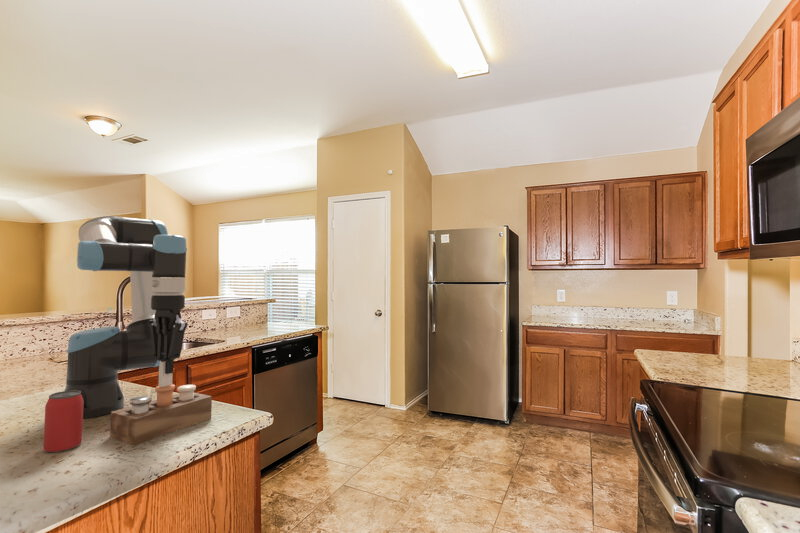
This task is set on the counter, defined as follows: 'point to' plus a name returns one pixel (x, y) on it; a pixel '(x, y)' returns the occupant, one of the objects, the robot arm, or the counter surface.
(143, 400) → the plunger grey
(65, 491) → the counter surface
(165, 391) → the peach round knob
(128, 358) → the robot arm
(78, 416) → the beer can
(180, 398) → the plunger white
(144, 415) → the button block
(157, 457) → the counter surface
